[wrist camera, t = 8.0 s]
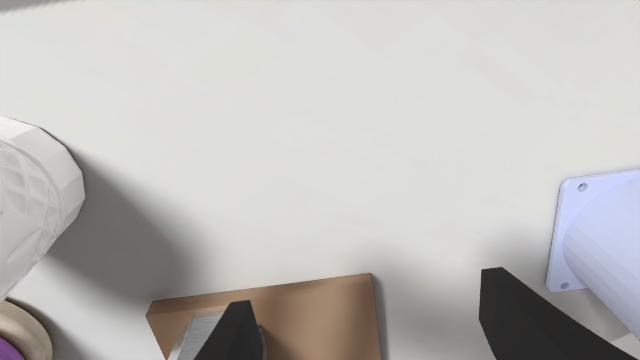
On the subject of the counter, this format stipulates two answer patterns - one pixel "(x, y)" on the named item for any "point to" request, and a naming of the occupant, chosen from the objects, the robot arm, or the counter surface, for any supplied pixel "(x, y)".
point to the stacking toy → (22, 335)
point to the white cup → (33, 198)
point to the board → (290, 318)
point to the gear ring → (200, 336)
